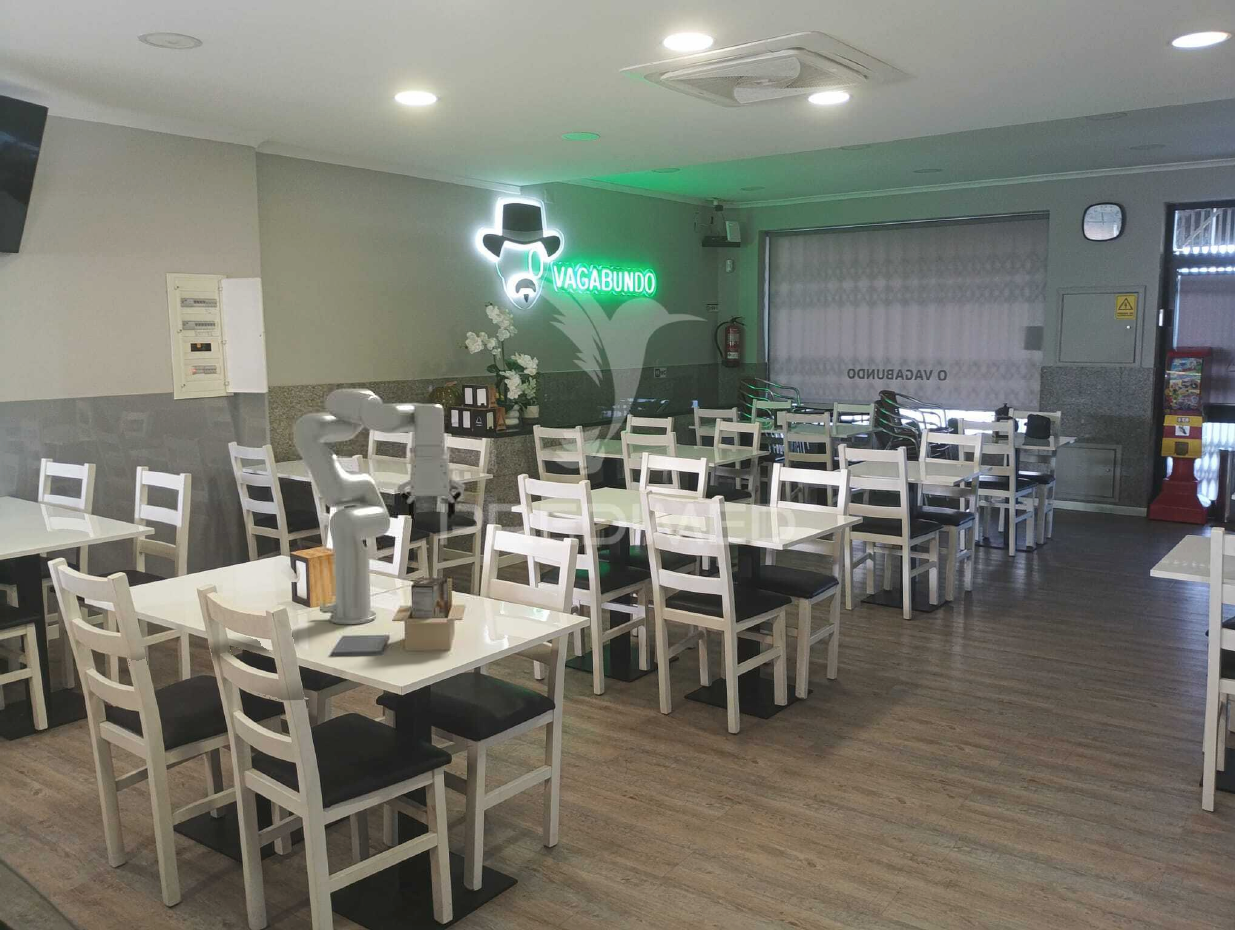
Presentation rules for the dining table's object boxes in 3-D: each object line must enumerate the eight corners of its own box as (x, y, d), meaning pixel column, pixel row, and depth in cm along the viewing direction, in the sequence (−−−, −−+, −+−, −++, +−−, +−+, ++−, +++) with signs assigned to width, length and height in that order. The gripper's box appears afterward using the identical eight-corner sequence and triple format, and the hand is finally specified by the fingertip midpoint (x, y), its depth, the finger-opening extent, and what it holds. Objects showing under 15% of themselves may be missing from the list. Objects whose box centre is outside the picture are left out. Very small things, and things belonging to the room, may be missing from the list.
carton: (390, 654, 233) (389, 595, 231) (400, 635, 250) (399, 579, 248) (461, 653, 234) (460, 594, 233) (466, 633, 251) (465, 578, 250)
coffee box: (426, 636, 249) (425, 576, 247) (449, 638, 247) (448, 578, 246) (411, 646, 240) (410, 584, 238) (435, 648, 238) (434, 586, 237)
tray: (331, 655, 231) (331, 651, 231) (342, 639, 245) (342, 635, 245) (381, 654, 233) (381, 650, 232) (389, 638, 246) (389, 634, 246)
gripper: (393, 453, 239) (395, 520, 240) (461, 452, 239) (463, 519, 240) (400, 451, 246) (402, 516, 248) (466, 450, 246) (468, 515, 248)
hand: (432, 517), depth 244 cm, fingers open, 9 cm apart
